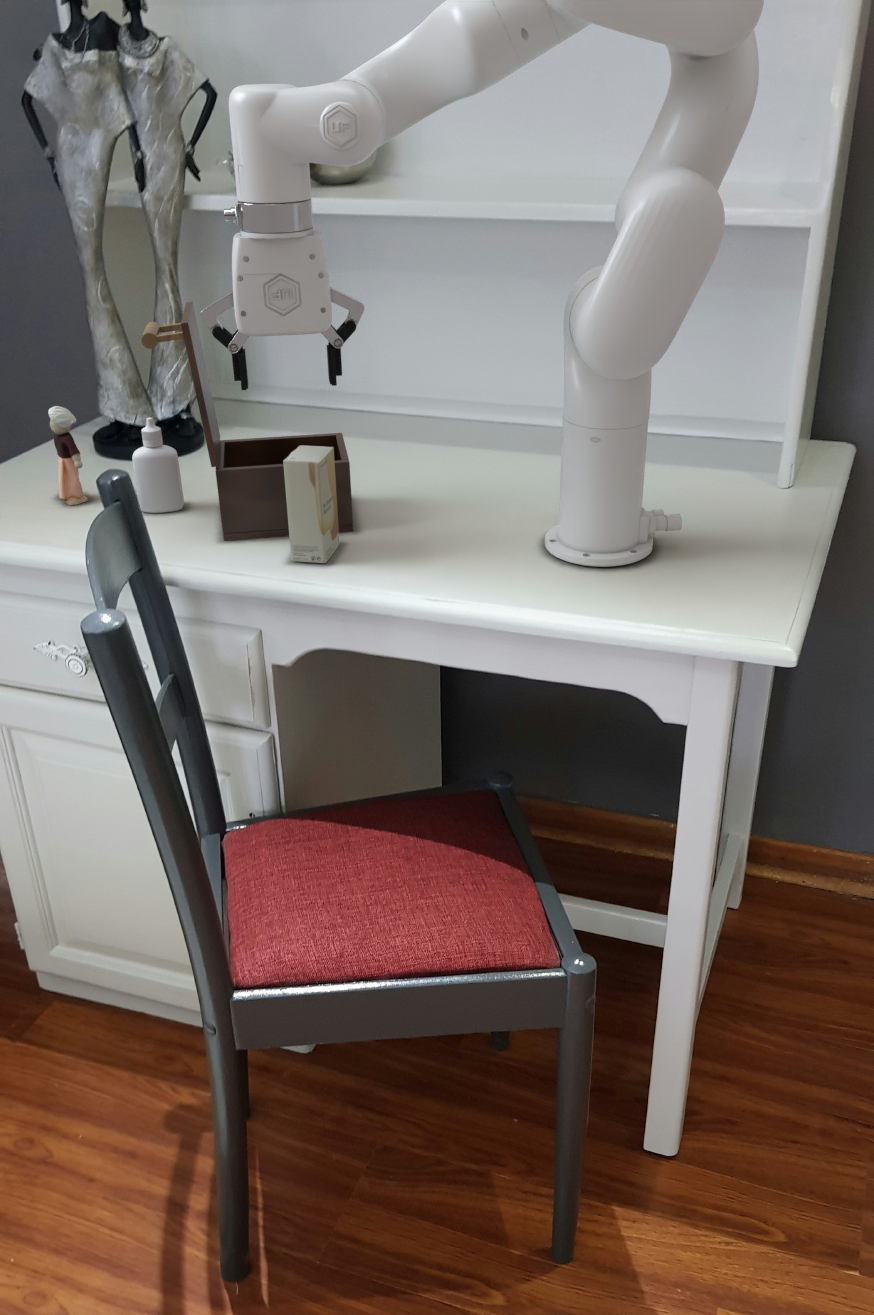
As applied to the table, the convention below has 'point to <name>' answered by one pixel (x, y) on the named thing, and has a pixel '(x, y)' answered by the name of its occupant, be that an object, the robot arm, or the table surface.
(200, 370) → the lid
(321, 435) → the chest
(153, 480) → the eye dropper bottle
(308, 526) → the cosmetic box
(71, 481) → the grandmother figurine
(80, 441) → the table surface
